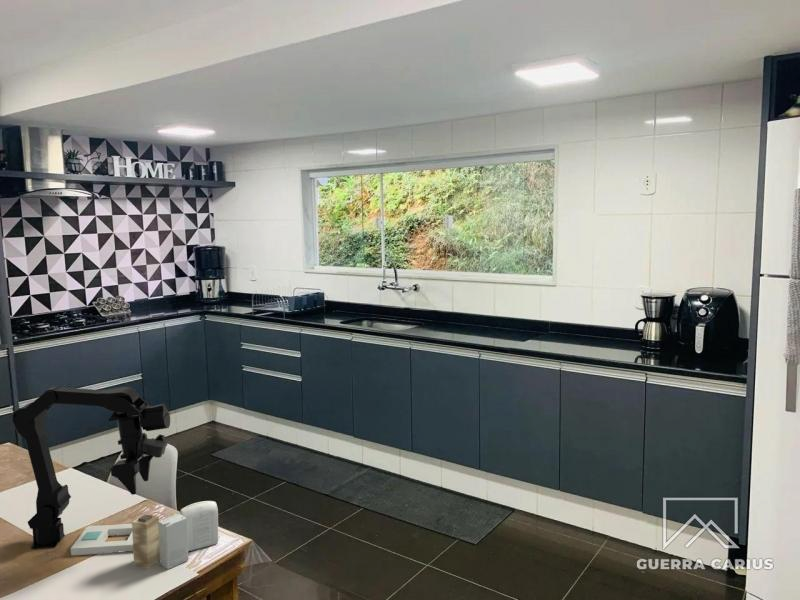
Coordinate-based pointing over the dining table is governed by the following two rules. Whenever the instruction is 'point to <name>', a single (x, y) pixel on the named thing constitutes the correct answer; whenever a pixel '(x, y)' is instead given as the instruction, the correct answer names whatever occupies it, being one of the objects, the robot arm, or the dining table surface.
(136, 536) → the plug
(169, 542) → the skincare box
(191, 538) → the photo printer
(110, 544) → the panel
